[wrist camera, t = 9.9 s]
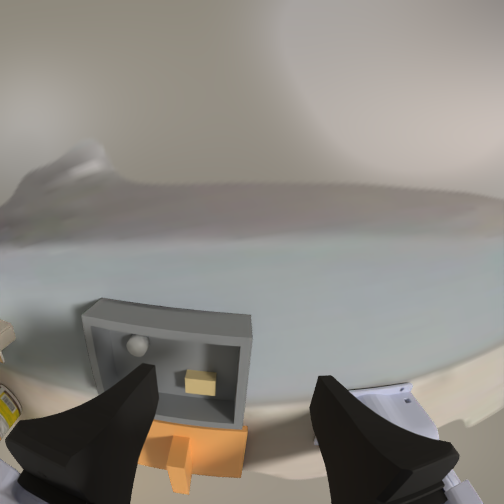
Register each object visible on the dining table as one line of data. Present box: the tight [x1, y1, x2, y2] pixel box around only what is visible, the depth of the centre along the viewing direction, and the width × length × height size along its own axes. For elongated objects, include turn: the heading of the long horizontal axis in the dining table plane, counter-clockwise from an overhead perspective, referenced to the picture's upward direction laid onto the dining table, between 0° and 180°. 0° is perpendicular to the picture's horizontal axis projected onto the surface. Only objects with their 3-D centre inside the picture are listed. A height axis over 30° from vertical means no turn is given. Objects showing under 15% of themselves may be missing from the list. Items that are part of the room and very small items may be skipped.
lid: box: [138, 419, 248, 494], centre depth 21 cm, size 12×9×6 cm
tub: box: [81, 298, 253, 430], centre depth 19 cm, size 12×9×4 cm
